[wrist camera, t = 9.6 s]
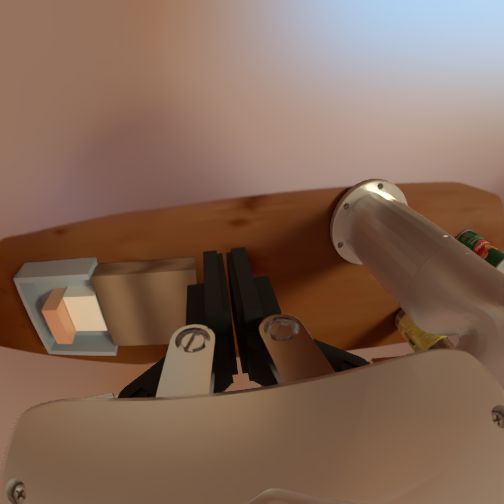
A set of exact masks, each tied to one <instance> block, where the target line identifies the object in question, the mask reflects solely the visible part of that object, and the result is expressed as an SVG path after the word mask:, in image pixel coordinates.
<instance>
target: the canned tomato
mask: <svg viewBox="0 0 504 504" xmlns="http://www.w3.org/2000/svg"><path fill="white" fill-rule="evenodd" d="M456 239H457V240H458V241H459V242H461V243H462V244H464V245H465V246H466V247H468V248H469V249H470V250H472V251H473V252H474V253H476V254H477V255H478V256H480V257H481V258H482V259H484V260H485V261H487V262H488V263H489V264H491V265H492V266H493V267H495V268H496V269H497V270H499V271H500V272H502V273H503V274H504V254H503V253H502V252H501V251H499V250H498V249H497V248H495V247H494V246H493V245H491V244H490V243H489V242H487V241H486V240H484V239H483V238H482V237H480V236H479V235H477V234H476V233H474V232H473V231H472V230H470V229H468V230H465V231H463V232H461V233H460V234H459V235H458V236H457V238H456Z"/></svg>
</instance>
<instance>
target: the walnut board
mask: <svg viewBox="0 0 504 504" xmlns="http://www.w3.org/2000/svg"><path fill="white" fill-rule="evenodd" d="M92 279H93V283H94V286H95V289H96V293H97V296H98V299H99V302H100V305H101V308H102V311H103V314H104V317H105V320H106V322H107V325H108V328H109V331H110V333H111V336H112V339H113V341H114V344H115V346H134V345H160V344H169V343H170V340H171V337H172V335H173V334H174V333H175V332H176V331H177V330H178V329H180V328H182V327H184V326H186V303H187V286H188V285H193V284H197V276H196V265H195V257H188V258H174V259H160V260H146V261H132V262H118V263H103V264H97V266H96V268H95V271H94V273H93V275H92Z"/></svg>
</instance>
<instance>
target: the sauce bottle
mask: <svg viewBox="0 0 504 504" xmlns="http://www.w3.org/2000/svg"><path fill="white" fill-rule="evenodd" d="M395 325H396V326H397V328H398V330H399V332H400V333H401V334H402V336H403V337H404V338H405V339H406V341H407V342H408V343H409V345H410V346H411V348H412V349H413V350H414V352H419V351H424V350H431V349H454V348H455V347H454V345H453V344H452V343H451V342H450V341H449V339H448V337H447V336H440V335H433V334H429V333H427V332H425V331H423V330H421V329H420V328H419V327H417V326H416V325H415V324H414V322H413V321H412V320H411V319H410V318H409V316H408V315H407V314H406V313H405V312H404V311H403V309H401V310H400V311H399V312H398V313H397V315H396V318H395Z"/></svg>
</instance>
